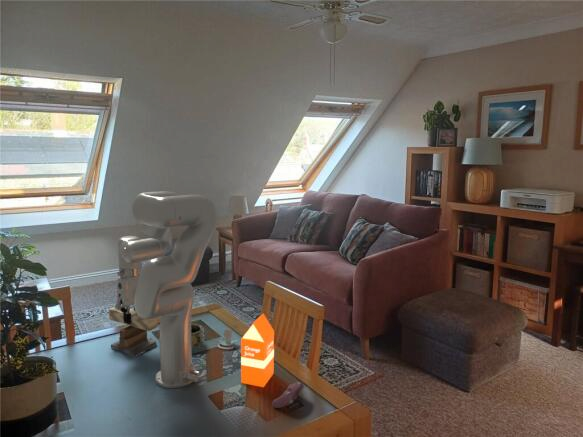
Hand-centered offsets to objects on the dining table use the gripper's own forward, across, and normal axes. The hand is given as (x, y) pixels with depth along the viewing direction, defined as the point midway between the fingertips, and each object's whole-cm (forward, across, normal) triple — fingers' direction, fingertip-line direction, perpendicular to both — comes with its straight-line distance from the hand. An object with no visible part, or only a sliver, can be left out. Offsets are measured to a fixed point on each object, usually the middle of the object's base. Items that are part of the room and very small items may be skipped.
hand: (132, 320), depth 156 cm
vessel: (+10, +12, -16) cm, 22 cm away
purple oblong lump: (+10, -2, -65) cm, 66 cm away
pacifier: (+10, +18, -28) cm, 35 cm away
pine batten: (+1, 0, 0) cm, 1 cm away
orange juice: (+10, +5, -50) cm, 51 cm away
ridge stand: (+10, 0, 0) cm, 10 cm away
